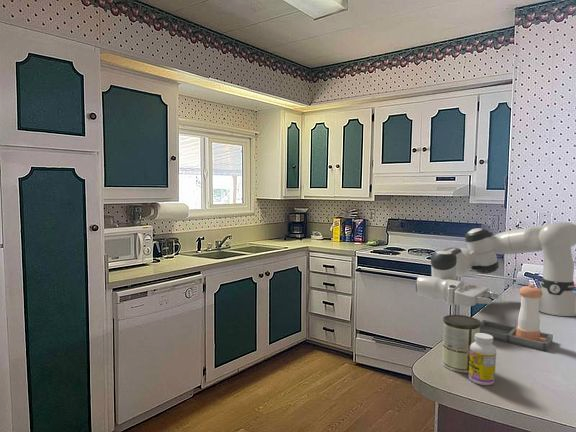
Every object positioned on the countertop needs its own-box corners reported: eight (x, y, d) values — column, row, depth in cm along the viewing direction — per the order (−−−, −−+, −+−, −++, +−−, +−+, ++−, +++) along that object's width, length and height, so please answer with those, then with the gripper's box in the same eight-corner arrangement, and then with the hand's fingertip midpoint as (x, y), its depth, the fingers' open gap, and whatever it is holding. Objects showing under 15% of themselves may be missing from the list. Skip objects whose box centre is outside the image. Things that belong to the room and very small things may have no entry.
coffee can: (442, 356, 136) (444, 312, 134) (478, 362, 131) (480, 317, 130) (439, 368, 126) (441, 322, 125) (477, 375, 122) (480, 327, 121)
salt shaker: (543, 343, 146) (547, 287, 144) (519, 341, 147) (523, 286, 145) (535, 335, 153) (538, 283, 151) (513, 334, 154) (516, 281, 152)
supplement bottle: (463, 375, 122) (466, 331, 121) (486, 374, 123) (488, 331, 122) (476, 386, 115) (478, 340, 114) (499, 386, 116) (502, 339, 115)
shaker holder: (483, 326, 165) (483, 320, 165) (552, 341, 150) (552, 334, 150) (473, 334, 156) (473, 327, 156) (545, 351, 141) (546, 344, 141)
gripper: (464, 295, 173) (501, 301, 164) (446, 305, 158) (486, 313, 149) (465, 279, 173) (502, 285, 164) (447, 288, 157) (487, 295, 148)
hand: (494, 299), depth 156 cm, fingers open, 8 cm apart
